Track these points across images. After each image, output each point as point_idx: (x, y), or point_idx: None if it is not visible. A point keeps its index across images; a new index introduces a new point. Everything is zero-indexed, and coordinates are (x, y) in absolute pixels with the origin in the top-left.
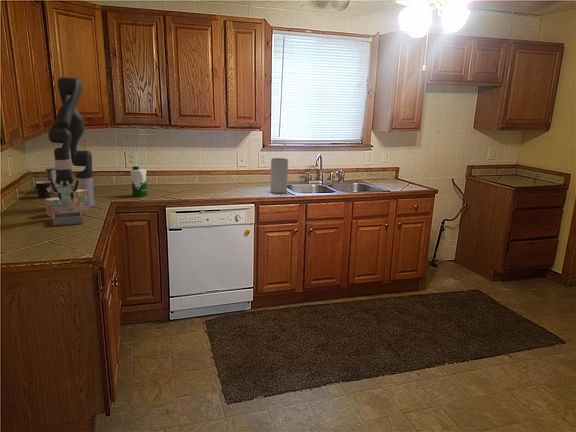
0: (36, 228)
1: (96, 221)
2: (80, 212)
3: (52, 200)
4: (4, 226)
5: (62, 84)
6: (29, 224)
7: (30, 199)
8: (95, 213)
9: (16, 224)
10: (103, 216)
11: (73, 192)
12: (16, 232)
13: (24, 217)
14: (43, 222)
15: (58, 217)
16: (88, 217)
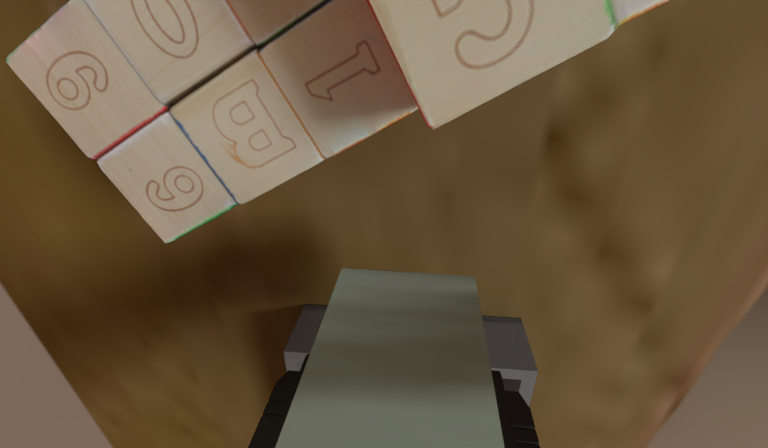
0: (234, 419)
1: (605, 410)
2: (523, 389)
3: (182, 234)
4: (27, 322)
5: None
6: (161, 330)
7: None
8: (722, 140)
9: (75, 302)
10: (731, 296)
11: (655, 5)
12: (157, 445)
13: (14, 87)
14: (238, 313)
15: None
16: (587, 285)
